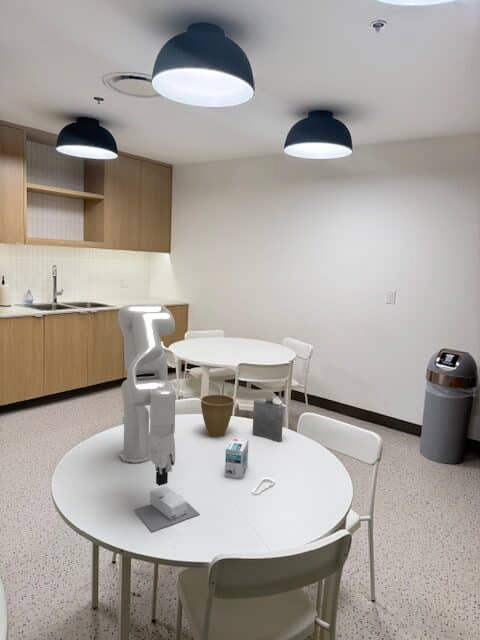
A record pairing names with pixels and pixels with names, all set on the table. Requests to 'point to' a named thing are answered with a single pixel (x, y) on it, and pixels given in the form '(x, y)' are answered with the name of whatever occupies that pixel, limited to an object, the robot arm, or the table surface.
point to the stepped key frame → (261, 483)
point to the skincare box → (168, 502)
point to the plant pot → (217, 413)
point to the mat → (161, 517)
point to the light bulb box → (236, 458)
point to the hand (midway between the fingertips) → (161, 483)
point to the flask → (268, 419)
